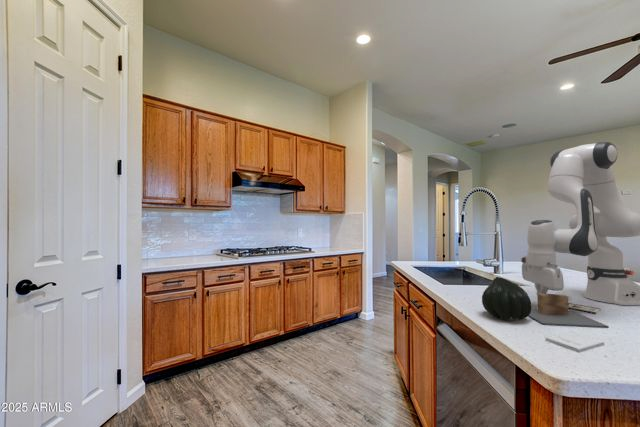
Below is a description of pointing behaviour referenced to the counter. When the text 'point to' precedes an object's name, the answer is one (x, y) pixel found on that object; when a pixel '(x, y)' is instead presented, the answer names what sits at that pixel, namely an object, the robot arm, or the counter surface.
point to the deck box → (553, 304)
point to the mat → (565, 320)
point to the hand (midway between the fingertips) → (541, 296)
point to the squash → (506, 300)
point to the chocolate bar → (583, 308)
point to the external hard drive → (575, 341)
